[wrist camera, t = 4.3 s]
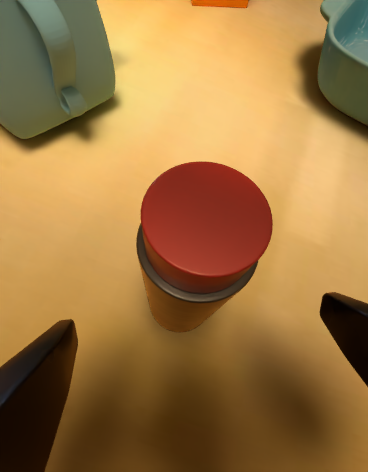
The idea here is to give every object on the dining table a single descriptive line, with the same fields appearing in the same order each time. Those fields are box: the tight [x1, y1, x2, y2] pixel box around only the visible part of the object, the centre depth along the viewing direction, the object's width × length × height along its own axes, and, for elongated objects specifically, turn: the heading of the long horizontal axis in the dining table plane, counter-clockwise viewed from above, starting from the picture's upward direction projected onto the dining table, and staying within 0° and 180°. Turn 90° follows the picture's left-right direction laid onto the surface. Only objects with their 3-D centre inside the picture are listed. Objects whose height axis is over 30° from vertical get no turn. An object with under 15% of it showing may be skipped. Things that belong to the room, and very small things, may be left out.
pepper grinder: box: [136, 162, 273, 332], centre depth 13 cm, size 5×5×13 cm
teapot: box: [0, 0, 115, 139], centre depth 22 cm, size 18×16×14 cm
